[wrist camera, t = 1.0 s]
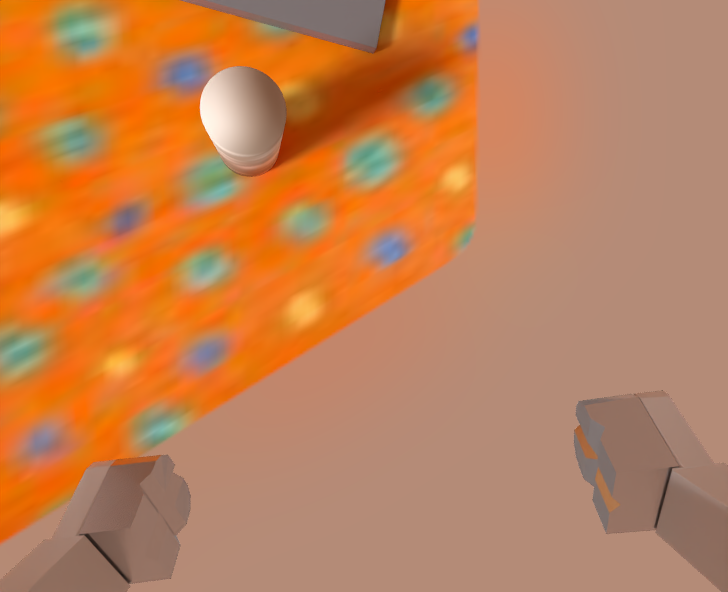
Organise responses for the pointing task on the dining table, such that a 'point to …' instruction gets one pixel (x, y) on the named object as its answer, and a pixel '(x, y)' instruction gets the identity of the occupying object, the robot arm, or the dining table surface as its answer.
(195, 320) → the dining table surface
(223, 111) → the ash post
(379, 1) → the plate
